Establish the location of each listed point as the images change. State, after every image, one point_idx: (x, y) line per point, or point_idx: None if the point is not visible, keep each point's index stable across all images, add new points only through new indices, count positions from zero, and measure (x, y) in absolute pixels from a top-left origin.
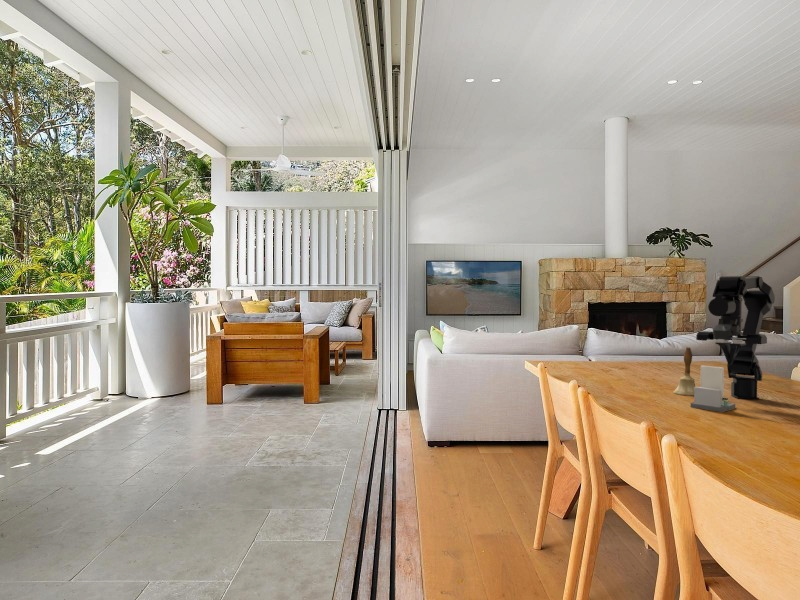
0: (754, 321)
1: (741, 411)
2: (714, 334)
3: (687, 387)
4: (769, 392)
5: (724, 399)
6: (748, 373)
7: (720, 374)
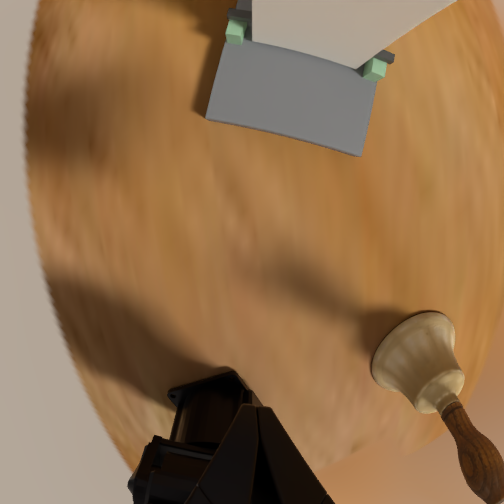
0: None
1: (175, 56)
2: None
3: (430, 346)
4: None
5: (243, 12)
6: (176, 455)
7: None
